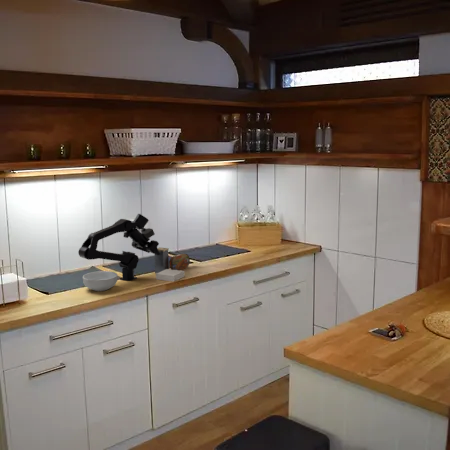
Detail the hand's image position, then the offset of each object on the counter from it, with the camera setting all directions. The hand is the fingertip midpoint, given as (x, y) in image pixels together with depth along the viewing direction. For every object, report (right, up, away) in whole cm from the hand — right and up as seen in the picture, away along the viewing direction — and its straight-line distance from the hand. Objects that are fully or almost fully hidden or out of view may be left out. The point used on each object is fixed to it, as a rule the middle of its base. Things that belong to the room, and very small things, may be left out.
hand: (154, 253), depth 299 cm
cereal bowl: (-23, -16, -27) cm, 39 cm away
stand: (+9, -13, -7) cm, 17 cm away
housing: (+4, -11, +5) cm, 12 cm away
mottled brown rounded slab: (+13, -10, +12) cm, 20 cm away
